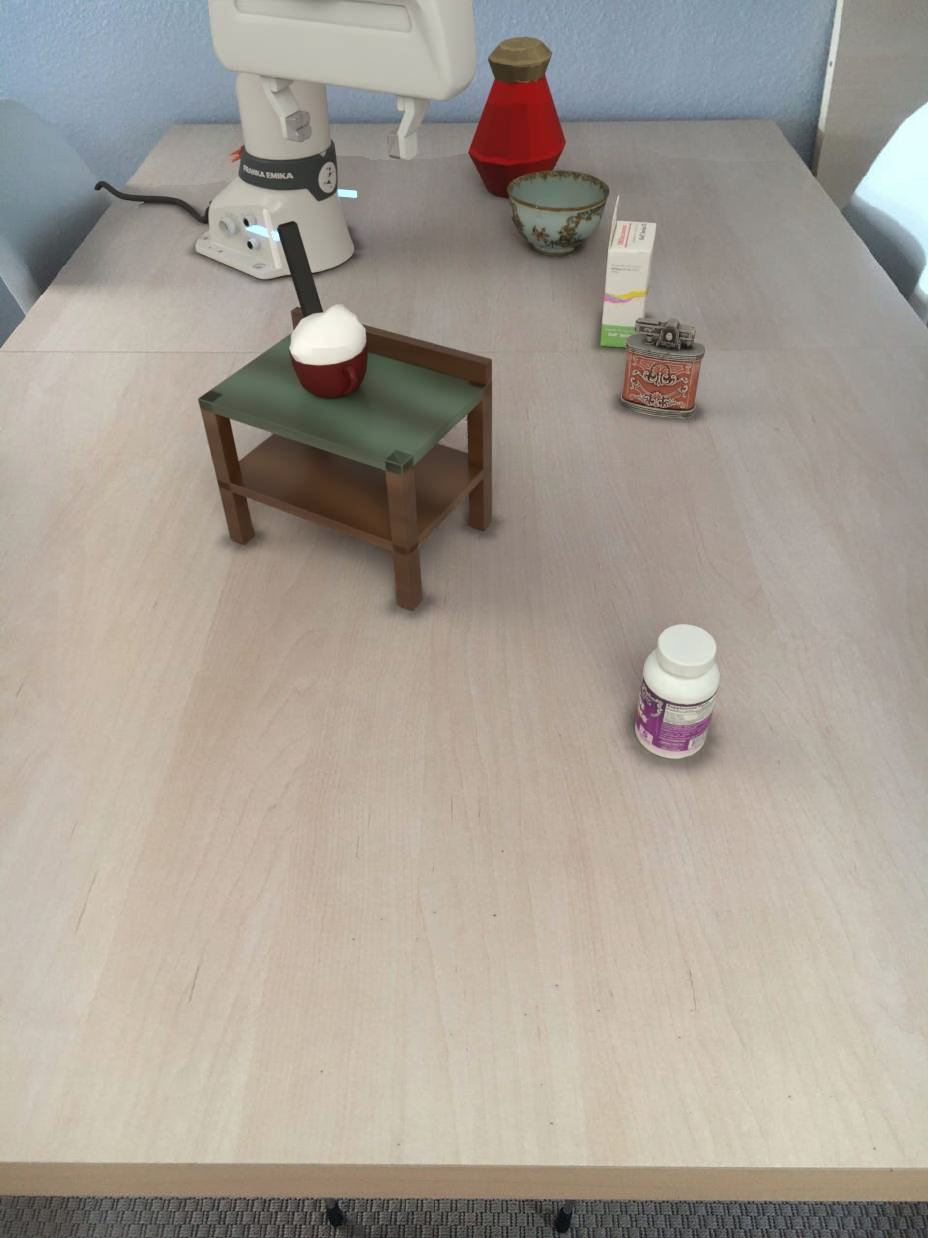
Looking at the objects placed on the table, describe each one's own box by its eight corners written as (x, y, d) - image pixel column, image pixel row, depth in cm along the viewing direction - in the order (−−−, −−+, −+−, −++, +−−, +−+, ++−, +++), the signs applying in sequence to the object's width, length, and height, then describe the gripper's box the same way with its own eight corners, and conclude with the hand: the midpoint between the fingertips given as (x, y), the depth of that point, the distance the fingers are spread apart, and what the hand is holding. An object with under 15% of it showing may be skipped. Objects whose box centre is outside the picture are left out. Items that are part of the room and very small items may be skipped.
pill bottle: (627, 709, 76) (640, 618, 69) (695, 704, 76) (714, 613, 70) (642, 765, 72) (657, 674, 65) (714, 759, 72) (736, 668, 66)
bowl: (491, 259, 135) (491, 199, 129) (524, 221, 143) (526, 164, 138) (588, 274, 131) (592, 213, 125) (616, 234, 140) (621, 176, 134)
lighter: (697, 405, 107) (711, 319, 100) (691, 421, 105) (705, 334, 98) (623, 393, 109) (632, 308, 102) (616, 409, 107) (625, 323, 100)
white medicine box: (641, 350, 116) (656, 224, 106) (598, 347, 117) (609, 221, 106) (646, 316, 122) (660, 194, 112) (606, 313, 123) (616, 191, 112)
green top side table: (412, 611, 84) (400, 443, 73) (230, 540, 92) (192, 376, 80) (492, 522, 93) (492, 358, 81) (319, 463, 100) (296, 305, 89)
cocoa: (374, 411, 79) (360, 266, 71) (296, 418, 79) (272, 273, 71) (366, 353, 86) (352, 215, 78) (293, 360, 86) (272, 221, 77)
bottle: (519, 163, 161) (522, 22, 147) (583, 184, 154) (592, 38, 140) (449, 190, 153) (446, 44, 139) (513, 213, 146) (516, 62, 132)
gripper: (168, -77, 66) (213, 142, 75) (434, -57, 58) (446, 184, 68) (228, -95, 69) (263, 116, 79) (485, -78, 62) (489, 152, 72)
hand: (349, 147), depth 73 cm, fingers open, 8 cm apart
